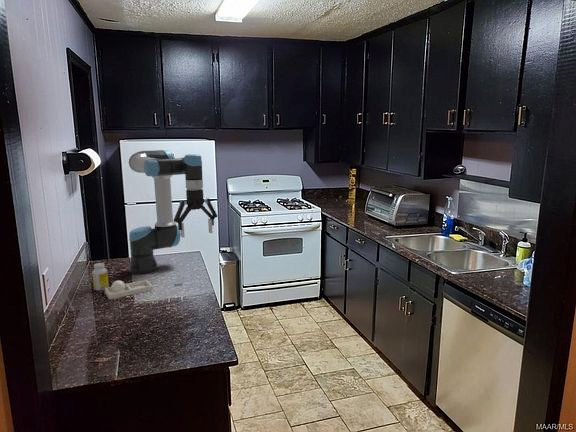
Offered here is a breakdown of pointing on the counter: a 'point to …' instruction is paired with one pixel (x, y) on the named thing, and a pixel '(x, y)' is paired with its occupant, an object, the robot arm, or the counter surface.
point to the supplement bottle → (100, 277)
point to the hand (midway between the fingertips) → (196, 234)
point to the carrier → (130, 289)
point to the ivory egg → (118, 286)
